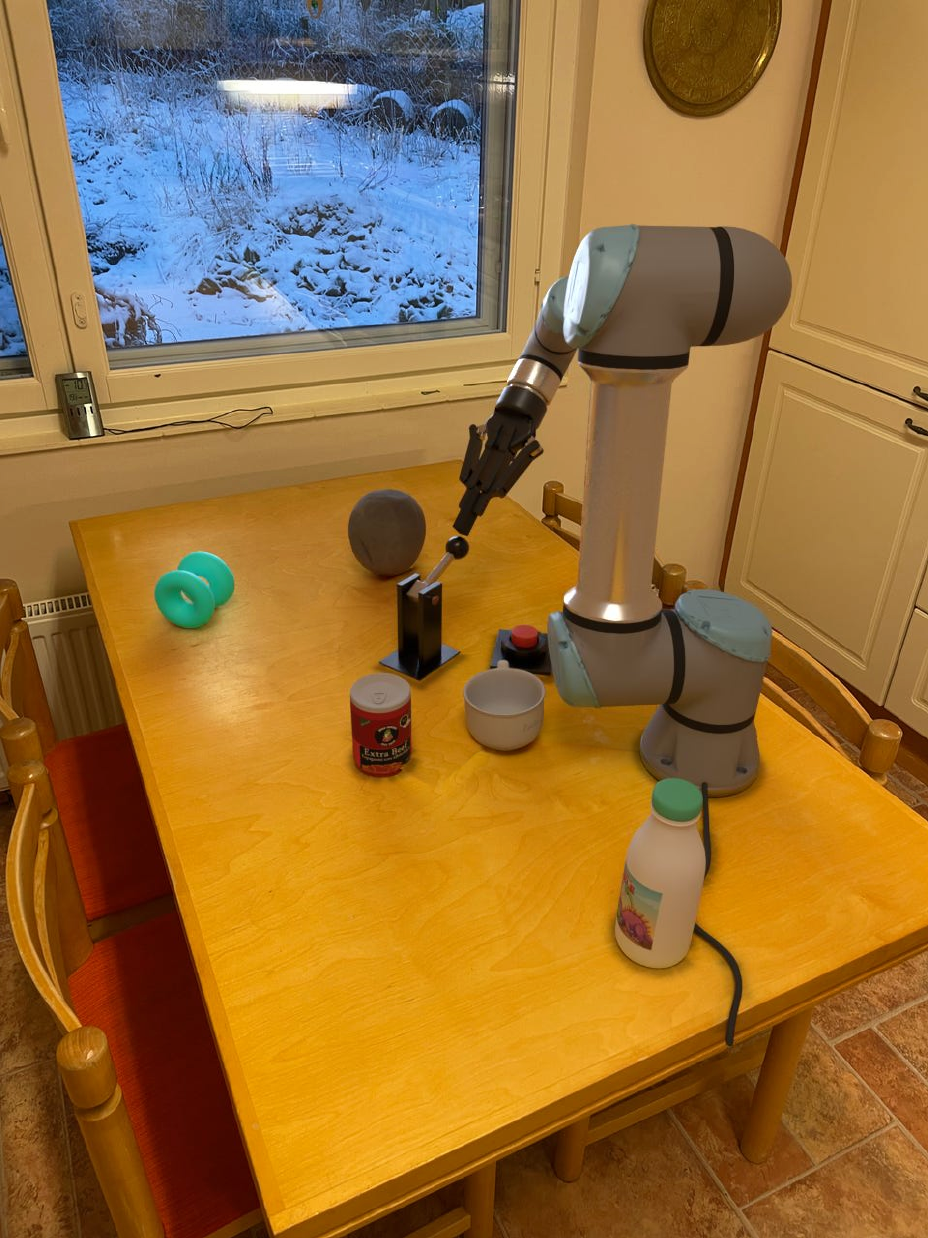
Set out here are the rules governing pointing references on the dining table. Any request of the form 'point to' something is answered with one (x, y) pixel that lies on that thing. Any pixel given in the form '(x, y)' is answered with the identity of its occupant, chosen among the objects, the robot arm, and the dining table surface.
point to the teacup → (504, 707)
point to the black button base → (523, 654)
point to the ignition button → (524, 636)
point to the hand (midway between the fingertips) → (460, 531)
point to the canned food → (381, 724)
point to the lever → (440, 566)
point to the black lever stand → (419, 632)
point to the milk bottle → (663, 878)
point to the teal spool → (194, 589)
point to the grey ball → (387, 531)
